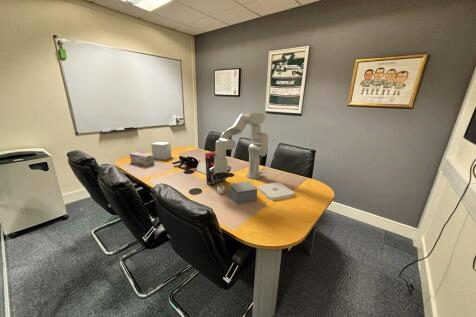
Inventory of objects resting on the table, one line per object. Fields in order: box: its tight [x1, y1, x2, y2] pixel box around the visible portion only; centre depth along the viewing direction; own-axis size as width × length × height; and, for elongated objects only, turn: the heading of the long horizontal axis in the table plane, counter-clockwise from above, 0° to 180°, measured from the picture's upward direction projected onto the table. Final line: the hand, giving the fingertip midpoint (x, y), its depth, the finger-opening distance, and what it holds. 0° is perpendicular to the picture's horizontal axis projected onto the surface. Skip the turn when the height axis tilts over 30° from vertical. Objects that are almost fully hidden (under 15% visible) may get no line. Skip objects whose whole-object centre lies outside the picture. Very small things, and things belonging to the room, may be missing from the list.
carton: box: [228, 185, 258, 205], centre depth 142 cm, size 16×14×8 cm
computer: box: [257, 181, 295, 201], centre depth 153 cm, size 22×22×3 cm
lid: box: [229, 181, 258, 193], centre depth 141 cm, size 16×14×1 cm
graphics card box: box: [204, 150, 227, 187], centre depth 164 cm, size 17×7×27 cm, turn 138°
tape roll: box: [216, 184, 226, 195], centre depth 150 cm, size 6×6×5 cm
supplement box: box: [150, 141, 172, 161], centre depth 230 cm, size 17×13×18 cm
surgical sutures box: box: [129, 151, 155, 168], centre depth 210 cm, size 25×11×11 cm, turn 59°
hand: (220, 178), depth 147 cm, fingers open, 9 cm apart
